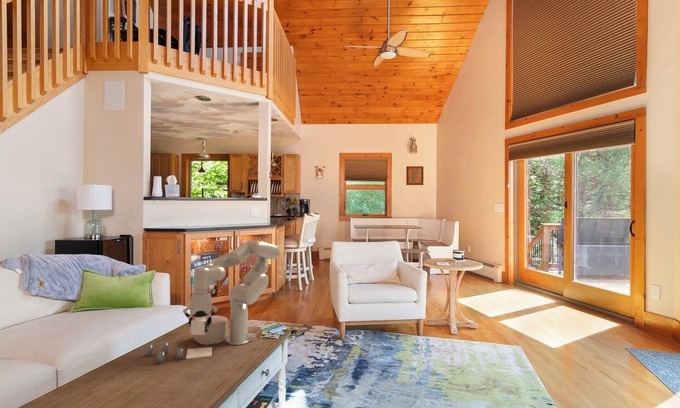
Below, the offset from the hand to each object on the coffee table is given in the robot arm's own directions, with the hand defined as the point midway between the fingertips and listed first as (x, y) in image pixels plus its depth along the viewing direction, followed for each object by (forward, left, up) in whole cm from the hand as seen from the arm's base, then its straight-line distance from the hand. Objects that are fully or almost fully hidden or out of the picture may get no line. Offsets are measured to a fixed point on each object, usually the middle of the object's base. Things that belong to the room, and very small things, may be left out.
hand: (200, 325), depth 187 cm
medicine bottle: (0, 0, -4) cm, 4 cm away
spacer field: (+17, +1, -14) cm, 22 cm away
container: (-5, -20, -15) cm, 25 cm away
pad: (0, 0, -14) cm, 14 cm away
